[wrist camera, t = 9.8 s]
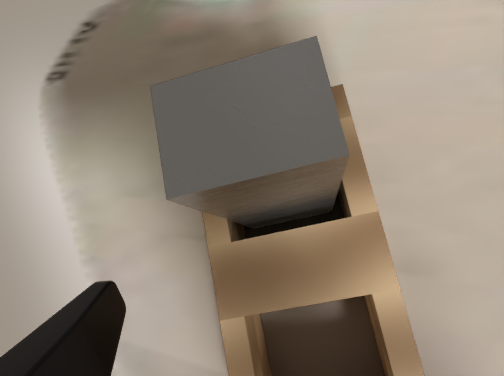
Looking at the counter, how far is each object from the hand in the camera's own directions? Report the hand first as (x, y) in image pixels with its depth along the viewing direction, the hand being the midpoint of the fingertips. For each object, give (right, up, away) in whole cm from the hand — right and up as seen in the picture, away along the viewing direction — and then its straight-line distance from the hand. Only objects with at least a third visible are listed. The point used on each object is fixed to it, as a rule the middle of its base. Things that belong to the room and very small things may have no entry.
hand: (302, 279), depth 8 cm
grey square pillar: (+1, +2, +14) cm, 14 cm away
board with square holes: (+2, -3, +13) cm, 13 cm away
